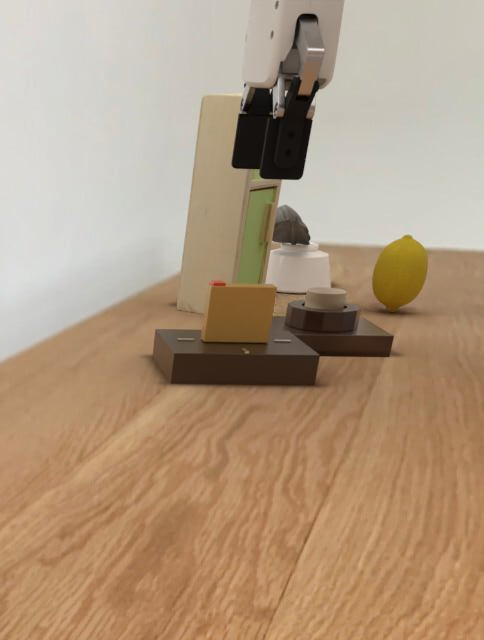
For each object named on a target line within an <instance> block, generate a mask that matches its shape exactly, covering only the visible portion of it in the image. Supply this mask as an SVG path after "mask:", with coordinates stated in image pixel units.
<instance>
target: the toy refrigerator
mask: <svg viewBox="0 0 484 640" xmlns="http://www.w3.org/2000/svg"><path fill="white" fill-rule="evenodd" d="M243 93H244V92H224V93H204V94H203V95H202V97H201V102H200V110H199V118H198V126H197V134H196V142H195V151H194V159H193V167H192V176H191V185H190V194H189V201H188V208H187V209H188V210H187V217H186V225H185V232H184V233H185V235H184V242H183V250H182V258H181V266H180V275H179V281H178V282H179V283H178V289H177V298H176V309H177V311H183V312H188V313H193V314H194V313H195V314H201V315H204V309H205V301H206V293H207V286H208V283H211V280H220V281H224V282H225V283H231V284H265V282H266V276H267V269H268V263H269V257H270V251H271V250H272V244H273V241H272V238H273V232H274V225H275V219H276V213H277V208H278V207H279V200H280V195H281V189H282V184H283V183H282V182H283V180H277V179H263V178H261V177H260V175H259V171H260V169H235V168H233V167H232V165H231V162H232V155H233V148H234V142H235V135H236V128H237V121H238V115H239V113H240V103H241V99H242V96H243ZM286 94H287V93H285V97H286ZM245 114H246V113H245Z"/></svg>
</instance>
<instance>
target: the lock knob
mask: <svg viewBox="0 0 484 640" xmlns="http://www.w3.org/2000/svg"><path fill="white" fill-rule="evenodd" d="M276 291H277V287H276V286H274V285H273V284H231V283H225V282H224V281H220V280H211V283H208V286H207V293H206V301H205V309H204V314H203V317H202V326H201V330H202V332H201V339H202V340H203V341H204V342H234V343H268V341H269V335H270V329H271V322H272V316H274V309H275V303H276V296H277V292H276Z"/></svg>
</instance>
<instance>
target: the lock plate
mask: <svg viewBox="0 0 484 640" xmlns="http://www.w3.org/2000/svg"><path fill="white" fill-rule="evenodd" d="M201 332H202V329H185V328H183V329H179V328H177V329H175V328H155V329H154V337H153V348H152V349H153V350H152V356H151V358H152V359H153V361H154V362H155V364H156V366H158V368H159V369H160V370H161V372H162V373H163V375H164V377H165V378H166V379H167V381H168V382H169V383H170V384H171V385H226V386H227V385H233V386H235V385H237V386H299V387H300V386H305V387H307V386H308V387H310V386H311V387H312V386H313V387H314V386H315V385H316V381H317V380H316V379H317V374H318V369H319V363H320V358H321V356H320V355H319V354H318V353H317V352H315V351H314V350H313V349H311V348H310V347H309V346H307V345H306V344H305V343H304V342H302V341H301V340H300V339H298V338H297V337H296V336H295V335H293V334H292V333H291V332H289V331H270V335H269V341H268V343H234V342H204V341H203V340H202V339H201Z"/></svg>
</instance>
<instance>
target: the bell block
mask: <svg viewBox="0 0 484 640" xmlns="http://www.w3.org/2000/svg"><path fill="white" fill-rule="evenodd" d="M305 300H306V298H305V299H297V300H292V301H290V302H288V303H287V306H286V311H285V315H273V316H272V322H271V329H270V331H289V332H291V333H292V334H293V335H295V336H296V337H297V338H298V339H300V340H301V341H302V342H304V343H305V344H306V345H307V346H309V347H310V348H311V349H313V350H314V351H315V352H317V353H318V354H319V355H320V357H336V358H337V357H339V358H342V357H343V358H352V357H353V358H390V356H391V353H392V347H393V343H394V338H395V335H393V334H392V333H390V332H388V331H387V330H385V329H383V328H381V327H380V326H379V325H377V324H375V323H374V322H372V321H370V320H368V319H367V318H365V317H363V316H361V312H362V307H360V306H359V305H357V304H355V303H351V302H346V301H345V305H344V309H338V310H324V309H314V308H309V307H304V305H305Z"/></svg>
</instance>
